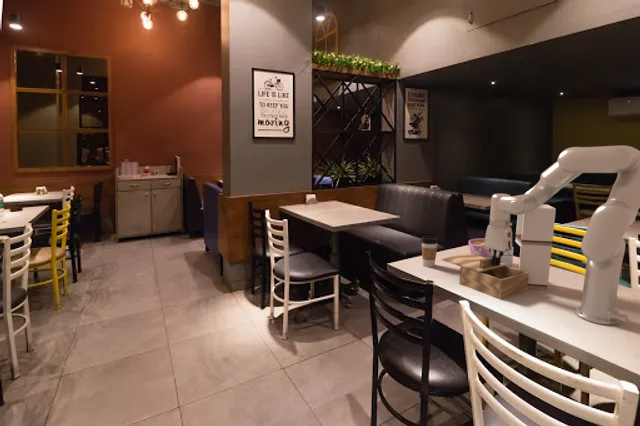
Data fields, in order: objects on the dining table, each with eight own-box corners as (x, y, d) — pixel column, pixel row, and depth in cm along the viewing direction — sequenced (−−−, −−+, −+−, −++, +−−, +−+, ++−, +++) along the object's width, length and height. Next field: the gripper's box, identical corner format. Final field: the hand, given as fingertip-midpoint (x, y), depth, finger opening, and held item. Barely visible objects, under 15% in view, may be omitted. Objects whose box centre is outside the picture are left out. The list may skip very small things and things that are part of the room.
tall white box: (539, 281, 167) (547, 204, 161) (547, 289, 157) (555, 208, 150) (512, 278, 170) (518, 203, 164) (517, 287, 160) (524, 207, 153)
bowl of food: (468, 268, 184) (470, 246, 182) (465, 257, 203) (466, 237, 201) (513, 272, 178) (515, 249, 176) (505, 260, 197) (507, 239, 195)
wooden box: (527, 290, 156) (528, 272, 154) (500, 299, 147) (502, 280, 146) (485, 276, 173) (486, 260, 171) (459, 283, 164) (460, 266, 163)
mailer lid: (505, 265, 163) (506, 256, 162) (479, 272, 154) (480, 262, 154) (467, 254, 180) (468, 245, 180) (442, 260, 171) (442, 251, 171)
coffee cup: (416, 264, 192) (417, 236, 190) (429, 262, 196) (430, 234, 193) (427, 268, 185) (428, 239, 182) (440, 266, 188) (442, 237, 186)
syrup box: (511, 277, 171) (514, 247, 169) (498, 276, 173) (500, 246, 170) (508, 273, 177) (510, 244, 174) (495, 272, 178) (497, 243, 176)
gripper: (522, 225, 150) (517, 268, 153) (489, 219, 162) (486, 259, 166) (510, 227, 146) (506, 271, 149) (478, 221, 159) (475, 262, 162)
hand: (495, 265), depth 157 cm, fingers closed
